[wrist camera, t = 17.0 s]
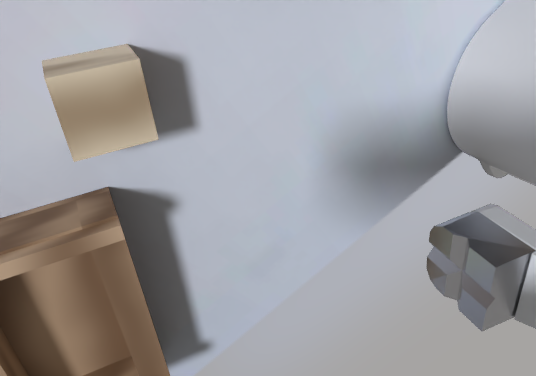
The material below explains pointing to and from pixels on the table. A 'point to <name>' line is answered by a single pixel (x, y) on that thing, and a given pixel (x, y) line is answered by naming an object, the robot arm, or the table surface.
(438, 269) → the robot arm
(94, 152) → the oak block
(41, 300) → the brown wooden shallow box
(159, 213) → the table surface
